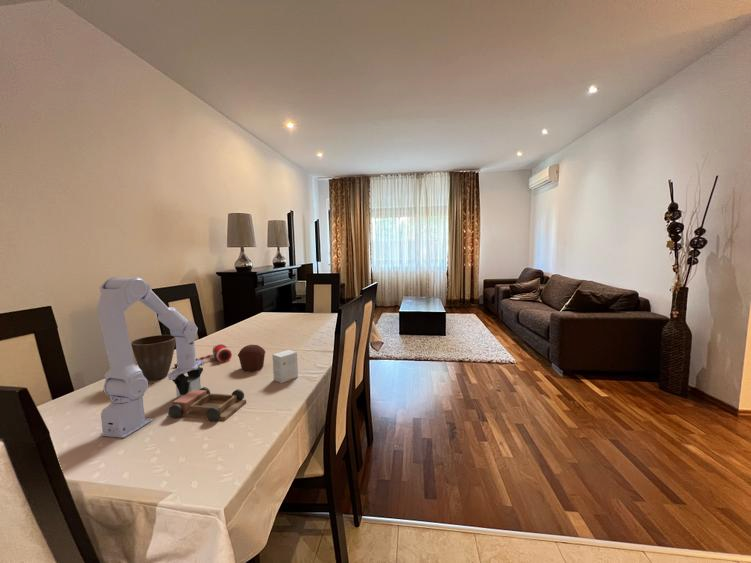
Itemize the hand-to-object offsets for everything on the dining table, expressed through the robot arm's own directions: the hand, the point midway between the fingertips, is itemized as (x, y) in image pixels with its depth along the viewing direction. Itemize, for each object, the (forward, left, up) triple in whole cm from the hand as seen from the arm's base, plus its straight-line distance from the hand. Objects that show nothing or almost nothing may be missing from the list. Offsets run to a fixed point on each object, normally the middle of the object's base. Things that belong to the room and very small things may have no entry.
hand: (188, 391), depth 114 cm
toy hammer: (+33, +18, -2) cm, 38 cm away
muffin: (+28, -8, -2) cm, 29 cm away
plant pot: (+13, +26, -2) cm, 29 cm away
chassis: (-8, -14, -1) cm, 16 cm away
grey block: (0, 0, -1) cm, 1 cm away
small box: (+19, -28, -2) cm, 34 cm away
